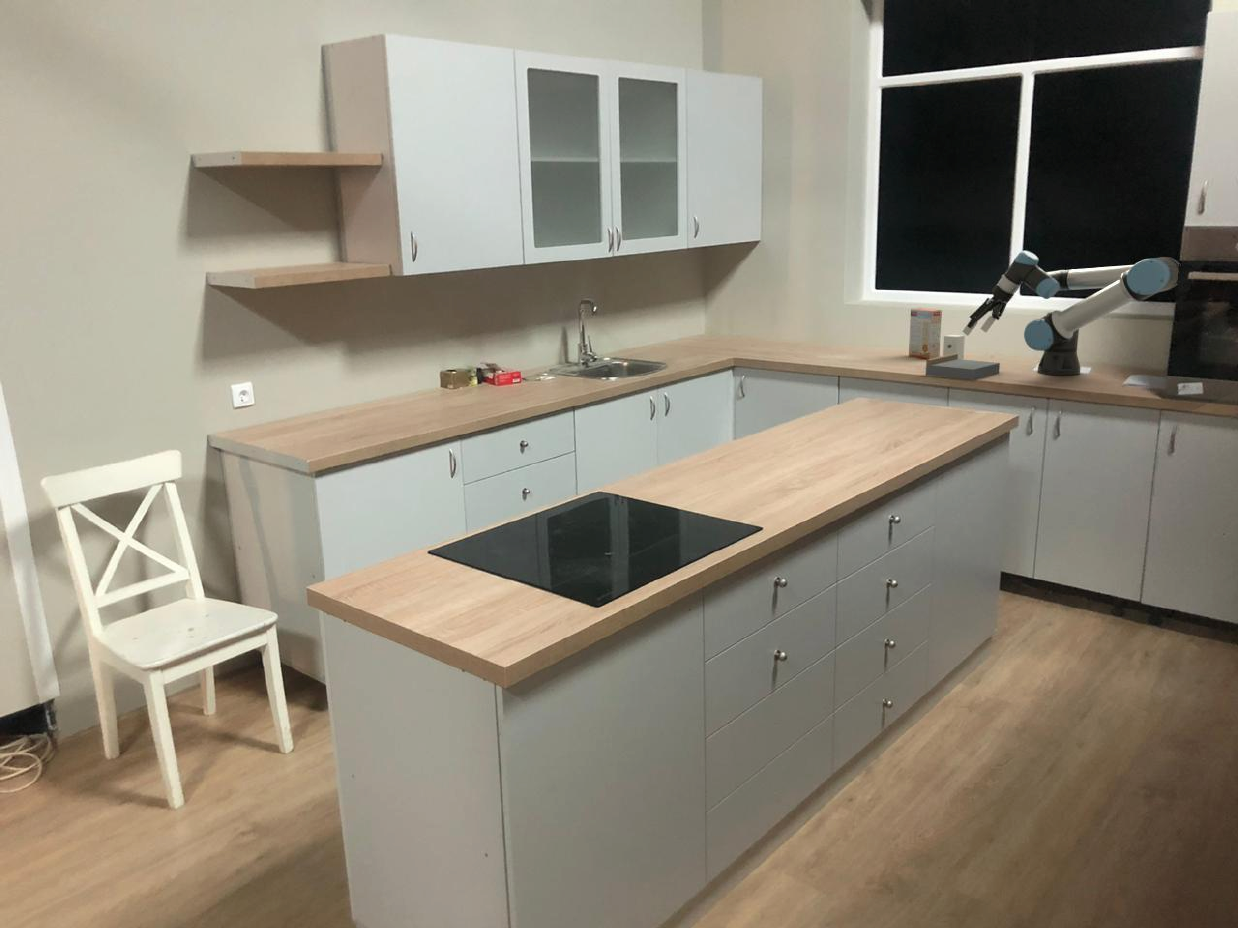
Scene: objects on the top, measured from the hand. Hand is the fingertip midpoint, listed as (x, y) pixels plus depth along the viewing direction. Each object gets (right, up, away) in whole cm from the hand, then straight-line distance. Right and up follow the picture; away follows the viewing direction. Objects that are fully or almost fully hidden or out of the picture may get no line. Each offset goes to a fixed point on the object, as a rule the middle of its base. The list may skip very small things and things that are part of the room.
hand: (974, 332), depth 388 cm
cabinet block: (-2, -11, +19) cm, 22 cm away
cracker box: (-7, -6, +40) cm, 41 cm away
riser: (-6, -17, -5) cm, 19 cm away
